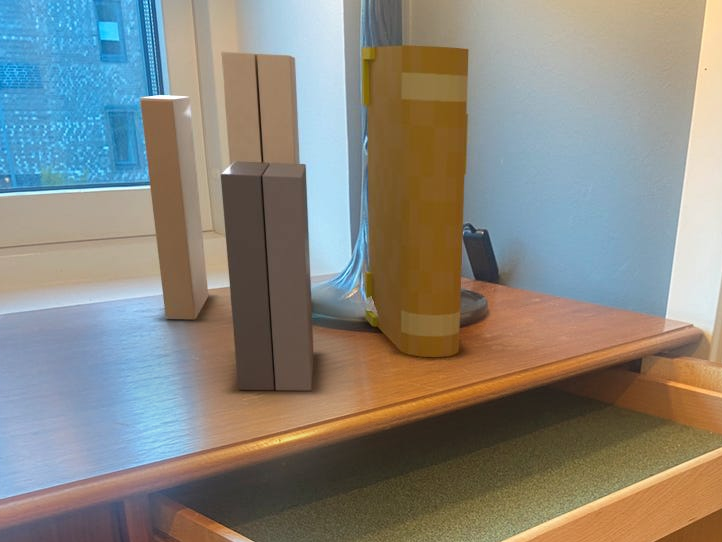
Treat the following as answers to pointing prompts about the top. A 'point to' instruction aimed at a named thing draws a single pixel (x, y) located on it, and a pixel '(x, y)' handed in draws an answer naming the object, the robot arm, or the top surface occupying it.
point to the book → (416, 193)
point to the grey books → (269, 274)
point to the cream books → (261, 107)
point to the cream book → (175, 203)
